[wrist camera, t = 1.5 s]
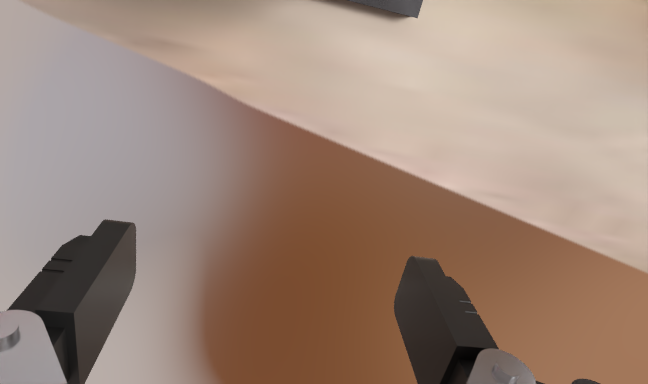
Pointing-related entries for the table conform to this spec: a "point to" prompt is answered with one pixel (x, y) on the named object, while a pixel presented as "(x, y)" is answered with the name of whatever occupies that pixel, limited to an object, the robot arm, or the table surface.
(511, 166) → the table surface
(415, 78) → the table surface
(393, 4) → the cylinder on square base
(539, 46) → the table surface
